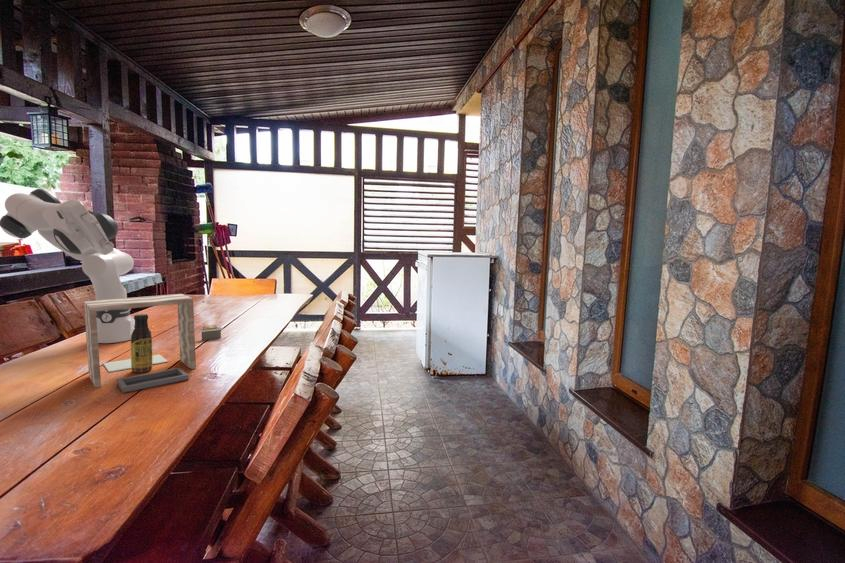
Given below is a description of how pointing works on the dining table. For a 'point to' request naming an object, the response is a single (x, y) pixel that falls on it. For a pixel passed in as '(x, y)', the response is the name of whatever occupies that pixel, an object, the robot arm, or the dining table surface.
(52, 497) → the dining table surface
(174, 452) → the dining table surface
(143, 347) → the sauce bottle
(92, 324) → the tunnel
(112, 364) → the pad
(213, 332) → the platform
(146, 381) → the tray
